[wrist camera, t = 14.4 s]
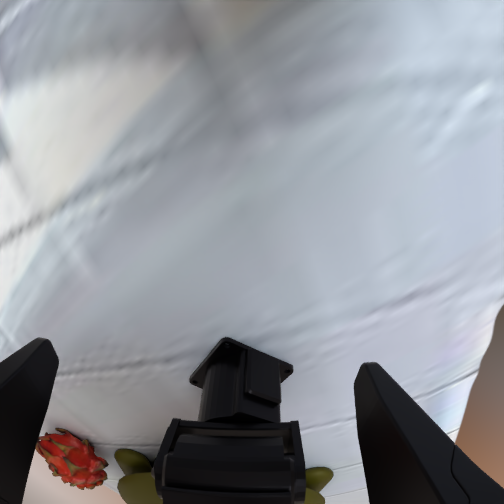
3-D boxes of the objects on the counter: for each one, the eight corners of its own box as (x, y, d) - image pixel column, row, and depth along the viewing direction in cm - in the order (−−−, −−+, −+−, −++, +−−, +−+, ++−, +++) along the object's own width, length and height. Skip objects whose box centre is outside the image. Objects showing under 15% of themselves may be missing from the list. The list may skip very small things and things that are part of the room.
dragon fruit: (120, 451, 39) (54, 408, 38) (119, 466, 32) (41, 415, 30) (98, 489, 35) (33, 447, 33) (94, 510, 28) (17, 460, 26)
